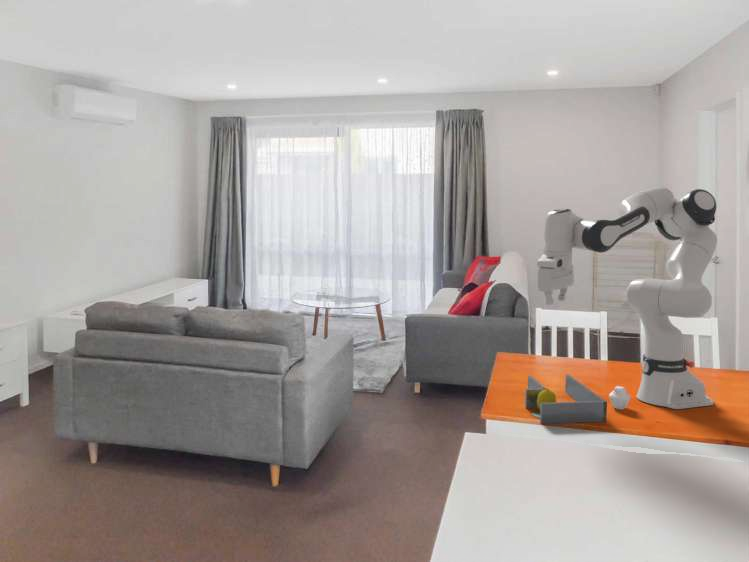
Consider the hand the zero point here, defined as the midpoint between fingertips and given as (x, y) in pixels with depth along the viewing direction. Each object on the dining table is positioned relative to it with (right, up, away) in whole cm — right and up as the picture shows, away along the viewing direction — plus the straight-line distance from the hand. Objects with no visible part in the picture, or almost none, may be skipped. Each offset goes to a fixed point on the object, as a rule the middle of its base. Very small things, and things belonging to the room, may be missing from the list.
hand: (555, 302), depth 197 cm
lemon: (-7, -33, -14) cm, 37 cm away
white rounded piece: (+17, -33, -8) cm, 38 cm away
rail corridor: (-2, -32, -7) cm, 33 cm away
